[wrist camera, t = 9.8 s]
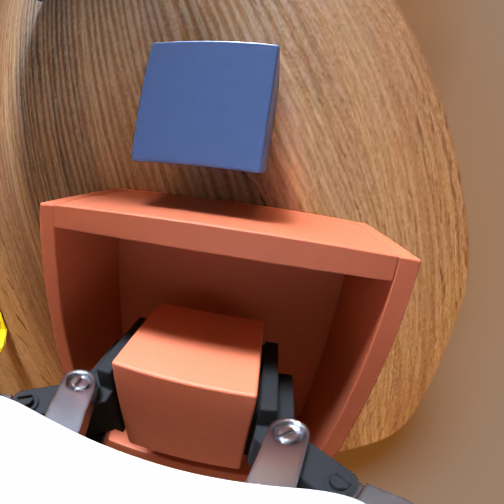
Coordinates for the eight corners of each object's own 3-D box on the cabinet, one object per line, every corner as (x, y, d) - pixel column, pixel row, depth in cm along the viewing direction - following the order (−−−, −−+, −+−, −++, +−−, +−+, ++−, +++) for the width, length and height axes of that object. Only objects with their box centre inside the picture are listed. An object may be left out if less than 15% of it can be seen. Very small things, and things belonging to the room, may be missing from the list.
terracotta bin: (367, 224, 13) (422, 260, 7) (308, 414, 17) (314, 486, 11) (116, 187, 14) (38, 202, 8) (124, 378, 17) (86, 436, 12)
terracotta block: (264, 320, 11) (257, 396, 7) (249, 396, 13) (239, 470, 8) (159, 301, 12) (110, 361, 7) (161, 378, 13) (128, 443, 9)
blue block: (279, 82, 12) (279, 44, 7) (266, 173, 13) (260, 173, 9) (187, 76, 12) (151, 42, 8) (173, 162, 13) (130, 160, 9)
